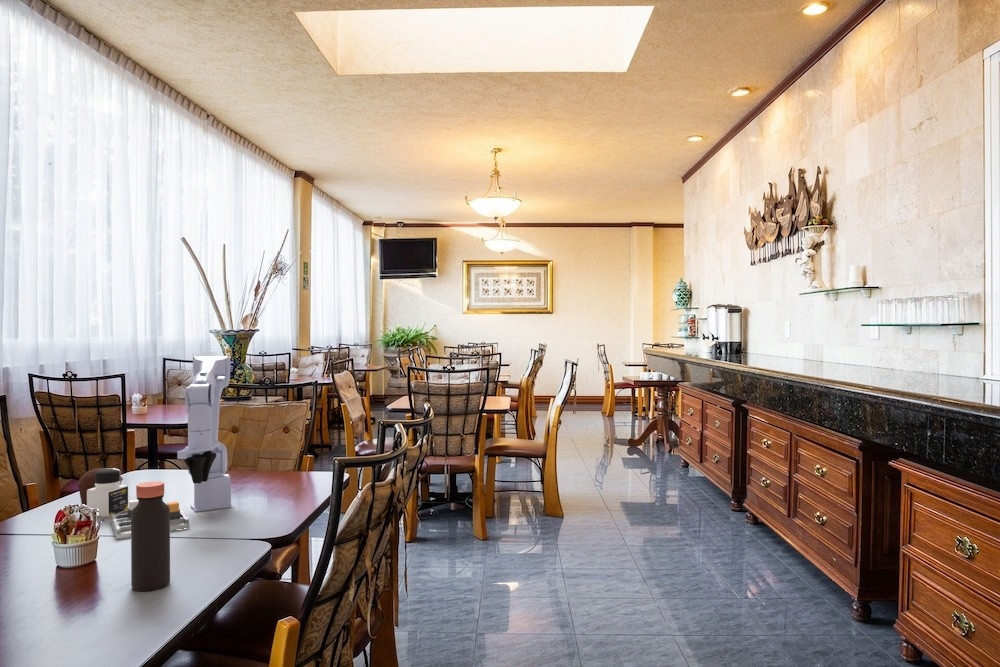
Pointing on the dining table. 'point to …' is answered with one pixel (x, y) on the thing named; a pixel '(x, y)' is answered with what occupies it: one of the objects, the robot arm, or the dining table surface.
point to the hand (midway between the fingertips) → (200, 482)
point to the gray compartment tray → (124, 524)
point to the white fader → (131, 507)
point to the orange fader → (174, 510)
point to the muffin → (88, 483)
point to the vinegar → (150, 538)
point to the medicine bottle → (108, 493)
